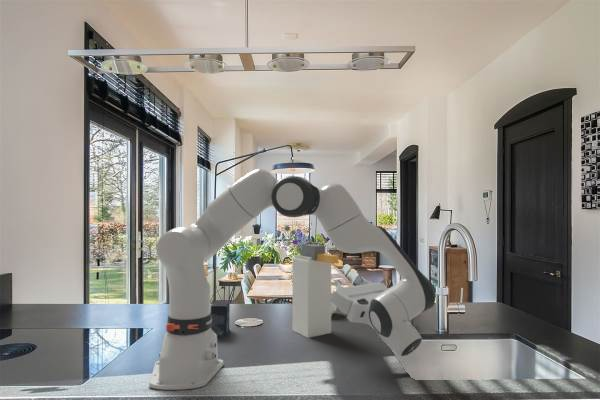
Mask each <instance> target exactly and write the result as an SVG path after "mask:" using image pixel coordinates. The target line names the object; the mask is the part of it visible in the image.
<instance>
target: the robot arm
mask: <svg viewBox="0 0 600 400" xmlns="http://www.w3.org/2000/svg"><path fill="white" fill-rule="evenodd" d="M270 207H273V208H274V209H275V210H276V211H277V212H278V214H280V215H281V216H283V217H287V218H300V217H304V216H306V215H314V217H316V218H317V219H318V221H319V223H320V224H321V225H322V228H323V231H325V233H326V236H327V237H328V239H329V241H330V242H331V244H332V245H333V246H334V248H336V250H338V251H340V252H343V253H345V254H360V253H367V252H378V253H380V254H382V255H383V256H384V257H385V259H387V261H388V262H389V263H390V265H392V267H393V269H395V271H396V272H397V274H398V275H399V276H400V280H399V281H398V282H397V283H395V284H394V285H392V286H391V287H389V288H388V286H386V284H385V283H383V282H371V281H369V280H367V279H365V278H364V277H363V276H359V277H358V276H357V280H356V282H357V284H359V285H353V286H345V287H344V286H343V285H342V284H343V281H342V280H340V279H335V280H334V282H333V285H334V286H335V288H334V289H333V291H332V293H331V294H332V297H331V300H332V302H333V303H334V304H335V305H336V306H337V309H338V310H339V311H340V312H341V313H342V314H344V315H347V317H346V319H347V320H348V322H350V323H360V324H364V325H369V326H370V327H371V328H372V329H373V330H375V332H376V333H377V334H378V336H379V337H380V338H381V340H382V341H383V342H384V343H385V344H386V345H387V346H388V347H389V349H390V348H391V350H393V351H394V352H395V353H396V354H397V355H399V356H401V357H404V356H408V355H410V354H411V353H413V352H414V351H416V349H417V348H418V347H419V346H420V345H421V343H422V339H423V338H422V336H421V334H420V333H419V332H418V330H417V329H416V327H414V325H412V323H411V322H410V321H411V320H413V319H414V318H415V317H418V315H420V314H422V313H424V312H426V311H428V310H429V309H431V308H433V307H434V306H435V302H436V297H437V296H436V295H437V292H436V289H435V286H434V284H432V282H431V281H430V280H429V279H428V278H427V276H426V275H425V274H423V273H422V272H421V271H420V270H419V268H417V266H416V265H415V264H414V262H413V261H412V260H411V258H410V257H409V256H408V255H407V253H406V252H405V251H404V250H403V248H402V247H401V246H400V244H398V242H397V241H396V240H395V238H394V237H393V236H392V235H391V234H390V233H389V232H388V231H387V230H386V228H384V227H383V226H381V225H374V224H373V223H371V222H370V221H369V220H368V219H367V218H366V217H365V216H364V214H363V213H362V210H361V208H360V206H359V205H358V204H357V202H356V201H355V199H354V198H353V196H352V195H351V194H350V193H349V192H348V190H347V189H346V188H345V186H343V185H342V184H339V183H329V184H326V185H323V186H321V187H317V186H315V185H313V183H311V181H310V180H308V179H306V178H305V177H302V176H297V175H296V176H295V175H288V176H285V177H282V178H280V179H277V178H276V177H275V176H274V175H273V174H272V173H271V172H269V171H267V170H266V169H264V168H257V169H254V170H252V171H250V172H248V173H247V174H245V175H244V176H242V177H240V178H239V179H238V180H237V181H235V182H233V183H232V184H231V185H230V186H229V187H228V188H227V189H225V190H223V192H222V193H220V194H219V195H218V196H217V197H216V198H214V199H213V200H212V201H211V202H209V204H208V205H207V207H206V209H205V210H204V211H203V213H202V214H201V215H200V216H199V218H198V219H197V220H195V222H193V223H191V224H189V225H187V226H177V227H174V228H172V229H170V230H168V231H166V232H165V233H163V234H162V235H161V236H160V237H159V239H158V241H157V243H156V254H157V255H156V256H157V258H158V259H159V261H160V262H161V263H162V265H163V266H164V270H165V273H166V279H167V282H168V283H167V284H168V291H169V292H168V293H169V295H168V296H169V297H168V298H169V299H168V302H169V305H168V306H169V308H168V309H169V315H167V321H166V326H165V327H166V328H165V330H166V333H165V334H163V341H162V346H161V350H160V352H159V353H158V355H159V356H158V357H159V360H157V361H155V363H154V366H153V370H152V373H151V376H150V379H149V384H148V386H149V388H151V389H155V390H162V391H163V390H167V391H175V390H177V391H178V390H179V391H180V390H189V389H190V390H191V389H198V388H202V387H204V386H206V385H208V383H210V381H211V379H212V378H214V377H215V375H216V374H217V373H218V372H219V371H220V370H221V369H222V367H223V366H224V360H223V359H221V358H218V356H219V355H218V353H219V352H218V336H217V334H215V333H214V332H213V330H212V329H211V326H212V314H211V286H210V283H209V281H208V279H207V276H206V275H207V274H206V270H205V265H204V263H205V262H207V261H209V260H210V259H211V258H213V257H214V256H215V255H216V254H217V253H218V252H219V251H220V250H221V249H222V248H223V247H224V246H225V245H226V244H227V243H228V242H229V241H230V240H231V239H232V238H233V237H234V236H235V235H236V234H237V233H238V232H240V230H241V231H242V229H243V228H244V227H246V226H247V225H248V224H249V223H251V221H253V219H255V218H256V217H257V216H259V215H260V214H261V213H262V212H263V211H265V210H266V209H268V208H270Z"/></svg>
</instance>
